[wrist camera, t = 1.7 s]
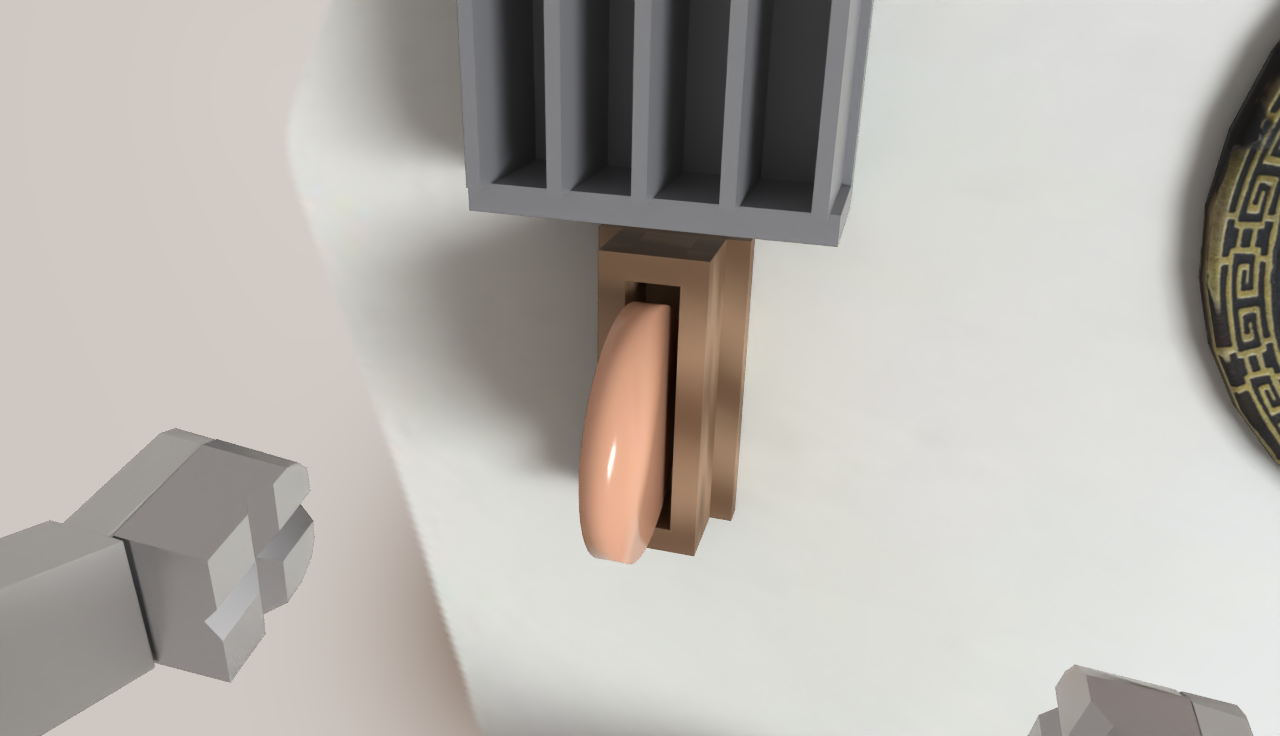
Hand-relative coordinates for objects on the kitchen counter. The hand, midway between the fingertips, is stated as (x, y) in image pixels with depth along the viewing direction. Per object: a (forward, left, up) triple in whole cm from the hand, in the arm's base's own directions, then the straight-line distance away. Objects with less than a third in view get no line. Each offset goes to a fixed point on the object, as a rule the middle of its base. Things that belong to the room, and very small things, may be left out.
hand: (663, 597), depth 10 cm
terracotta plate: (-13, +8, -27) cm, 31 cm away
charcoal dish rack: (+4, +8, -33) cm, 35 cm away
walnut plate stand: (-13, +8, -33) cm, 37 cm away
